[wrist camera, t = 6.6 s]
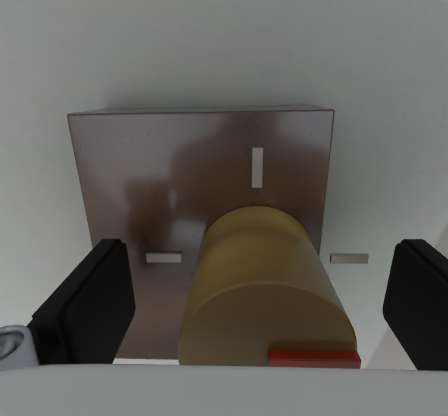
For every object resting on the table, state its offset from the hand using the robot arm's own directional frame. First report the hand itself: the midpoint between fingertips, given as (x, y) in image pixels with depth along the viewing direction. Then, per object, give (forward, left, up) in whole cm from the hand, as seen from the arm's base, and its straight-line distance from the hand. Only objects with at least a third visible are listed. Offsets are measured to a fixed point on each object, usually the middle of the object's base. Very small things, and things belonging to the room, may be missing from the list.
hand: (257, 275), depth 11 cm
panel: (0, -2, -4) cm, 5 cm away
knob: (0, 0, -1) cm, 1 cm away
